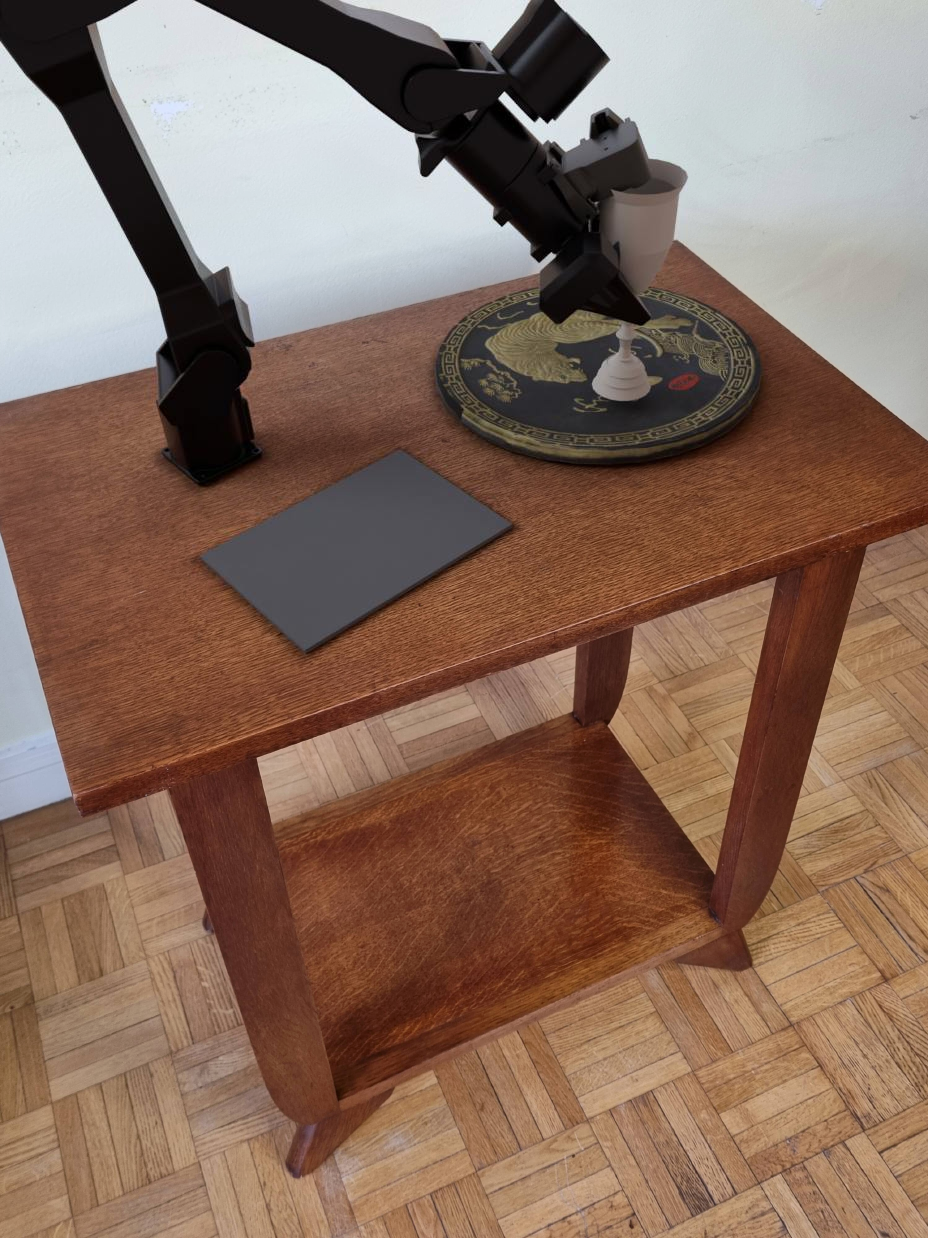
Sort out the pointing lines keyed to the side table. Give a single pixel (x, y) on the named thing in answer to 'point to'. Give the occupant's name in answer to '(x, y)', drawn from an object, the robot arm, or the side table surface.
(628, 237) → the chalice
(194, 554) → the side table surface
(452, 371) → the decorative plate
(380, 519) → the felt mat
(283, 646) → the side table surface
